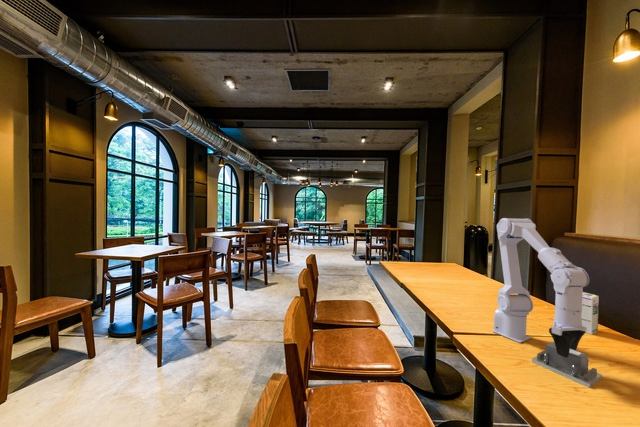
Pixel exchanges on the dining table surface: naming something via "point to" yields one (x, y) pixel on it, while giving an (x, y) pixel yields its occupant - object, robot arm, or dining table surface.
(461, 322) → the dining table surface
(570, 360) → the block
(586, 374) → the pin tray
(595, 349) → the dining table surface
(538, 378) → the dining table surface
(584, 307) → the syrup box
